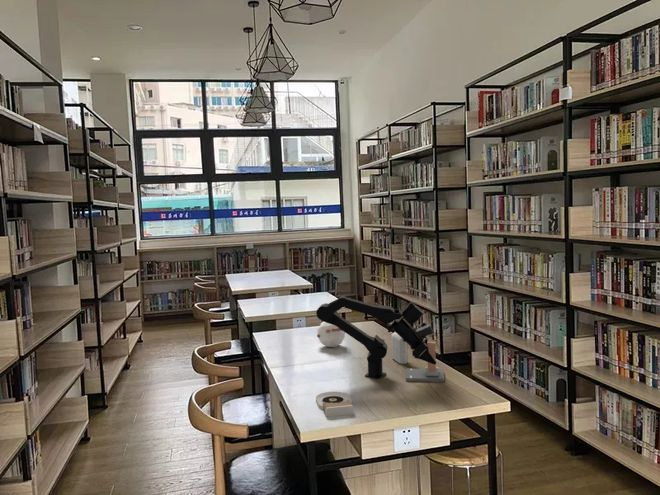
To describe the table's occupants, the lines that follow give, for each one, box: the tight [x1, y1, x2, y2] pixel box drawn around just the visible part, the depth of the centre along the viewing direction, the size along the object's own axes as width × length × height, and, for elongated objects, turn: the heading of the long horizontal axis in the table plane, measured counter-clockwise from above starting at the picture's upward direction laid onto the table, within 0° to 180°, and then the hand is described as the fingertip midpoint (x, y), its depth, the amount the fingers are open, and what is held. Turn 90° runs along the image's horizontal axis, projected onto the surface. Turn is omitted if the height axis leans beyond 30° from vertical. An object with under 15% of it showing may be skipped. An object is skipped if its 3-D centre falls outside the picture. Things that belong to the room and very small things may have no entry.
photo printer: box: [390, 331, 409, 365], centre depth 230 cm, size 10×4×12 cm, turn 17°
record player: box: [315, 391, 355, 417], centre depth 182 cm, size 12×3×20 cm
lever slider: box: [424, 341, 439, 376], centre depth 207 cm, size 5×7×12 cm
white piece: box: [316, 321, 346, 348], centre depth 258 cm, size 14×25×14 cm, turn 14°
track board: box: [405, 368, 445, 383], centre depth 208 cm, size 14×12×1 cm
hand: (435, 360), depth 207 cm, fingers open, 9 cm apart
